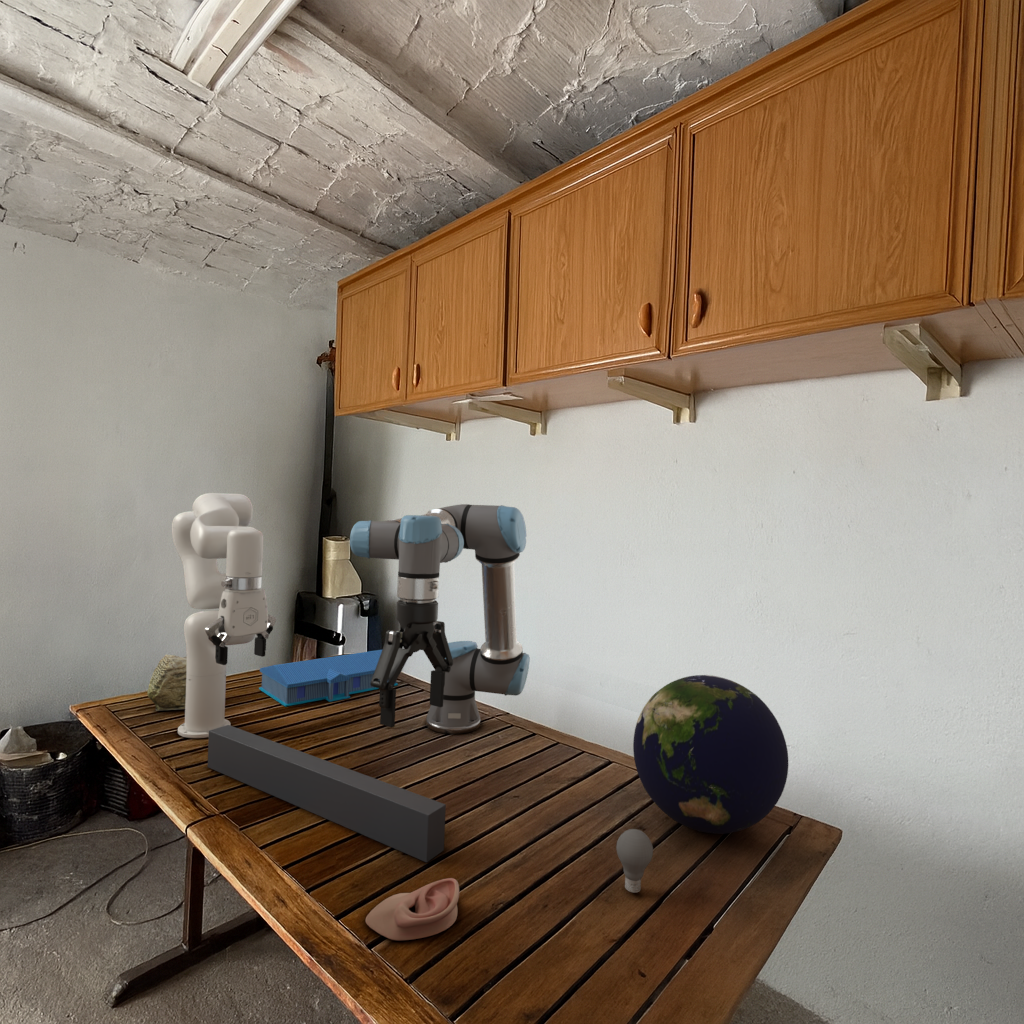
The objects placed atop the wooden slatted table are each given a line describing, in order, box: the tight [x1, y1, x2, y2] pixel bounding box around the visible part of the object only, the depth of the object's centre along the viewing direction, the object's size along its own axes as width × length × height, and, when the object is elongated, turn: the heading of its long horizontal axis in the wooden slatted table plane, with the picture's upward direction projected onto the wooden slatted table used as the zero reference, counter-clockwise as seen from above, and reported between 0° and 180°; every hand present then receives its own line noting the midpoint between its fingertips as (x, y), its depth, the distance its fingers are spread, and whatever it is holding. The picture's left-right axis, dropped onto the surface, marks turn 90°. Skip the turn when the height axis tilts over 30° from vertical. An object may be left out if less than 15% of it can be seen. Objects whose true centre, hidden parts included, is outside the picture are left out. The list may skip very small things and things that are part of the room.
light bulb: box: [615, 828, 654, 894], centre depth 106 cm, size 6×6×10 cm
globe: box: [632, 674, 789, 835], centre depth 129 cm, size 30×30×30 cm
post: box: [207, 725, 447, 863], centre depth 130 cm, size 65×5×8 cm, turn 58°
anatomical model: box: [365, 877, 460, 942], centre depth 97 cm, size 13×4×12 cm
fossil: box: [147, 654, 187, 712], centre depth 185 cm, size 9×18×15 cm, turn 132°
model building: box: [258, 649, 399, 707], centre depth 208 cm, size 39×24×10 cm, turn 132°
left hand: (241, 659), depth 143 cm, fingers open, 9 cm apart
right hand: (413, 715), depth 116 cm, fingers open, 13 cm apart
